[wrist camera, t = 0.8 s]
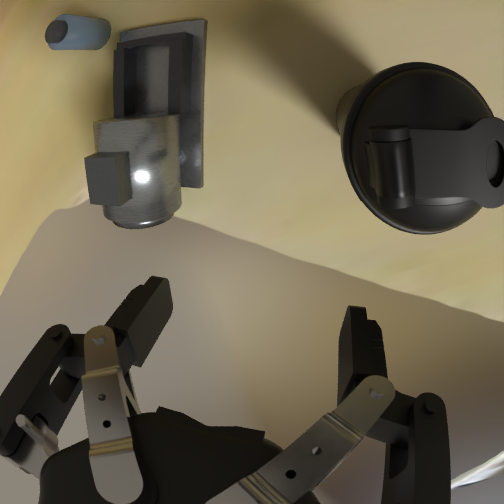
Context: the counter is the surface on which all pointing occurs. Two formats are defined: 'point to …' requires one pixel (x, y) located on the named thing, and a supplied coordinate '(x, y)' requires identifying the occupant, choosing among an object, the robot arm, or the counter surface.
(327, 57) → the counter surface
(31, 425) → the robot arm
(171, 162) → the electric motor
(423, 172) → the water bottle
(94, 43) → the blue capped cylinder
